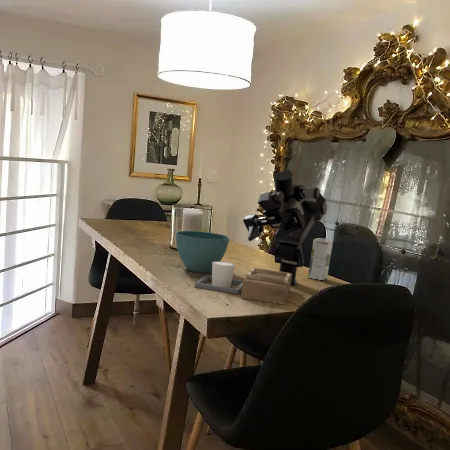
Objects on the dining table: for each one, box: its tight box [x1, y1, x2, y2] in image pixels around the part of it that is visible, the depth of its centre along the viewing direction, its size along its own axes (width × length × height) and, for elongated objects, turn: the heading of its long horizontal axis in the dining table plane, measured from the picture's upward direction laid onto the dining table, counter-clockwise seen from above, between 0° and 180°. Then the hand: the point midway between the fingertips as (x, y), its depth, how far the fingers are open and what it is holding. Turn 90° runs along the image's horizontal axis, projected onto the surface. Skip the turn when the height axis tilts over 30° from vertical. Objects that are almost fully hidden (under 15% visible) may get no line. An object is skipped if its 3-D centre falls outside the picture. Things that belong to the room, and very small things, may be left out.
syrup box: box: [307, 237, 334, 281], centre depth 174 cm, size 6×6×14 cm
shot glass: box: [211, 261, 236, 288], centre depth 146 cm, size 7×7×7 cm
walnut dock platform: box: [240, 267, 292, 305], centre depth 143 cm, size 20×12×6 cm, turn 167°
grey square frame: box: [194, 274, 243, 295], centre depth 147 cm, size 13×13×1 cm
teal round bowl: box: [175, 230, 230, 274], centre depth 166 cm, size 18×18×12 cm
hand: (262, 238), depth 138 cm, fingers open, 9 cm apart
